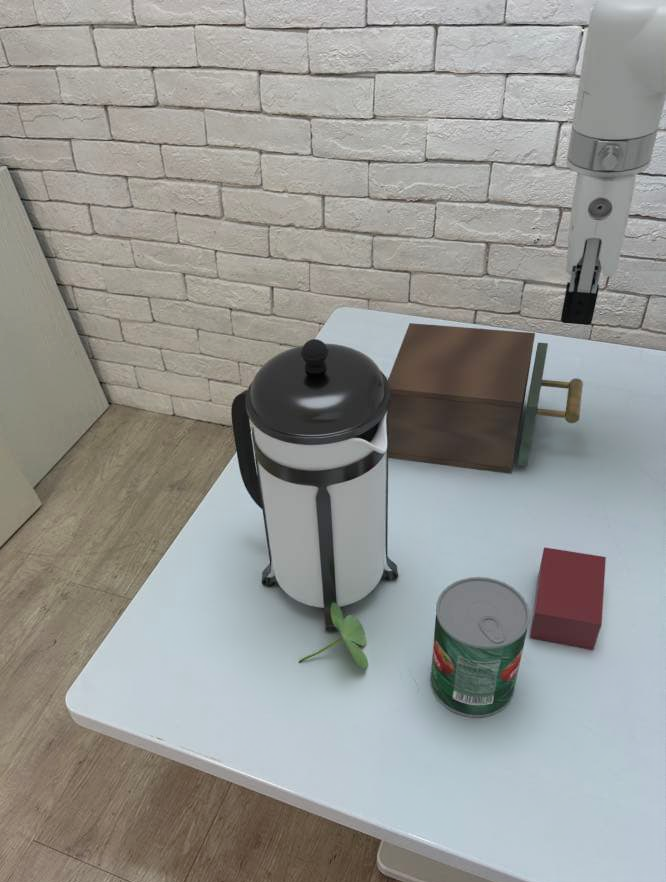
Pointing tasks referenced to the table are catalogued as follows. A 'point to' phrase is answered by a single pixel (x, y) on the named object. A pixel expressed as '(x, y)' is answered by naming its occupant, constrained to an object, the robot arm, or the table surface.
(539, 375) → the drawer
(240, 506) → the table surface
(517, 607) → the canned tomato
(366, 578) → the coffee press
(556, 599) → the maroon rectangular block
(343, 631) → the seedling
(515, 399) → the cabinet
